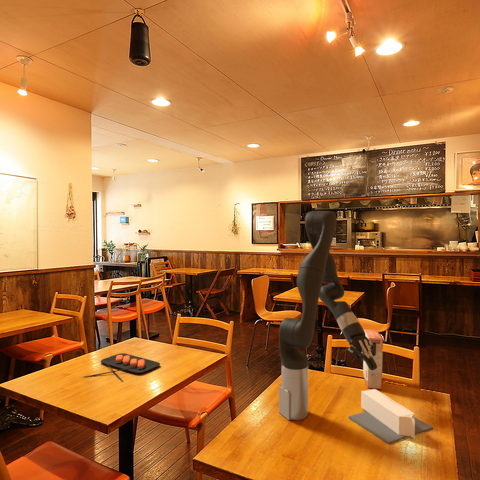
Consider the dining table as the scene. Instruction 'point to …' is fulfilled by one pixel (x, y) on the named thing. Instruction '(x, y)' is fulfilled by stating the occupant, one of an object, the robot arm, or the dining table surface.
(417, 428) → the mat
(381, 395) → the milk
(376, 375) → the cracker box
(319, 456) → the dining table surface
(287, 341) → the robot arm
